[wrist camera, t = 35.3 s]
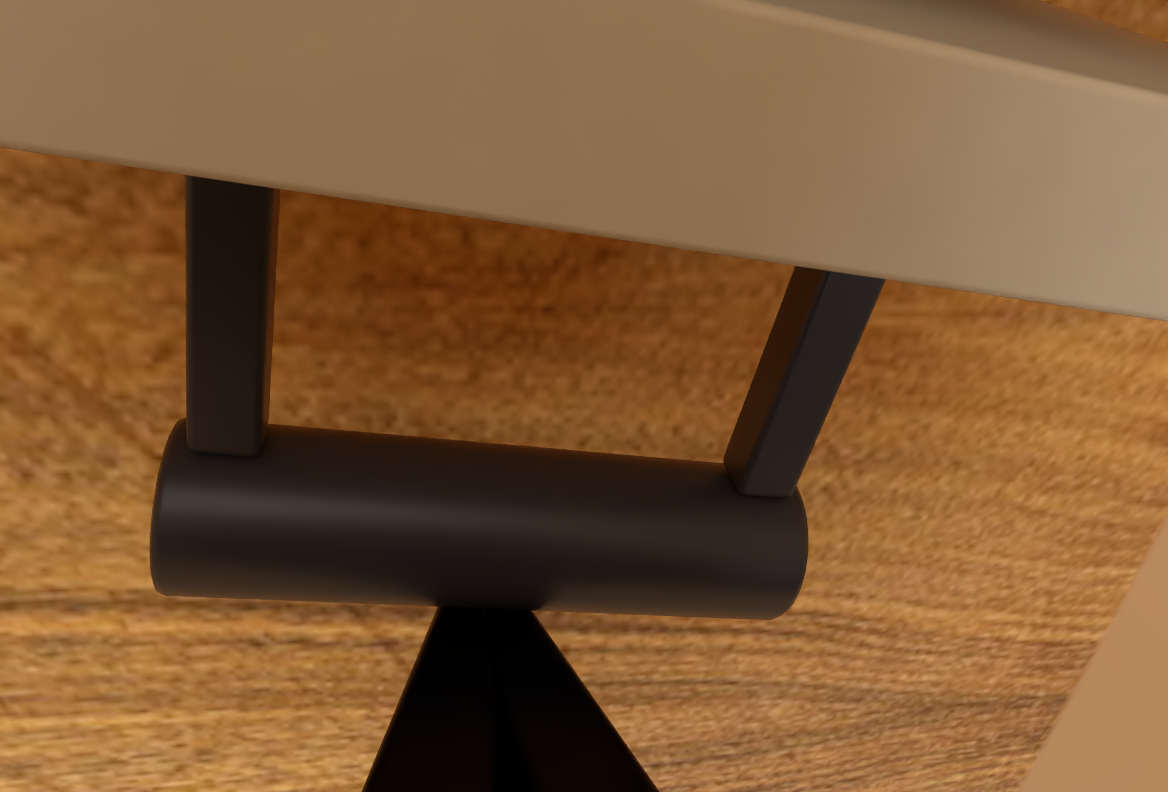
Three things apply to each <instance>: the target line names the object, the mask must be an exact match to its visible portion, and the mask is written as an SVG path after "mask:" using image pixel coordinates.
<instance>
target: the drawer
mask: <svg viewBox="0 0 1168 792" xmlns="http://www.w3.org/2000/svg"><path fill="white" fill-rule="evenodd" d="M0 147H2V148H8V149H15V150H22V151H28V152H35V153H42V154H49V155H55V156H62V157H69V158H75V159H82V160H89V161H96V162H102V163H109V164H116V165H122V166H129V167H136V168H143V169H149V170H156V171H163V172H169V173H176V174H183V175H185V259H186V418H183V419H180V420H178V421H177V422H176V424H175V426H174V427H173V429H172V431H171V433H170V435H169V437H168V440H167V442H166V445H165V448H164V452H163V455H162V459H161V463H160V468H159V472H158V477H157V483H156V488H155V495H154V502H153V510H152V519H151V531H150V569H151V575H152V580H153V584H154V587H155V589H156V591H157V592H159V593H161V594H163V595H166V596H186V597H211V598H236V599H261V600H285V601H310V602H335V603H360V604H385V605H409V606H434V607H459V608H484V609H508V610H533V611H558V612H583V613H607V614H632V615H657V616H682V617H707V618H731V619H756V620H771V619H774V618H777V617H779V616H781V615H783V614H784V613H786V612H787V611H788V610H789V609H790V607H791V606H792V605H793V603H794V601H795V600H796V598H797V596H798V594H799V591H800V589H801V586H802V582H803V579H804V575H805V571H806V564H807V556H808V526H807V518H806V512H805V508H804V504H803V500H802V498H801V495H800V492H799V490H798V488H797V486H796V485H797V483H798V480H799V478H800V476H801V473H802V471H803V469H804V467H805V464H806V462H807V460H808V457H809V455H810V453H811V450H812V448H813V446H814V444H815V441H816V439H817V437H818V434H819V432H820V430H821V427H822V425H823V423H824V421H825V418H826V416H827V414H828V411H829V409H830V407H831V405H832V402H833V400H834V398H835V395H836V393H837V391H838V388H839V386H840V384H841V382H842V379H843V377H844V375H845V372H846V370H847V368H848V365H849V363H850V361H851V359H852V356H853V354H854V352H855V349H856V347H857V345H858V342H859V340H860V338H861V336H862V333H863V331H864V329H865V326H866V324H867V322H868V319H869V317H870V315H871V313H872V310H873V308H874V306H875V303H876V301H877V299H878V296H879V294H880V292H881V290H882V287H883V285H884V283H885V280H886V279H887V280H894V281H900V282H907V283H914V284H920V285H927V286H934V287H941V288H947V289H954V290H961V291H967V292H974V293H981V294H987V295H994V296H1001V297H1008V298H1014V299H1021V300H1028V301H1034V302H1041V303H1048V304H1055V305H1061V306H1068V307H1075V308H1081V309H1088V310H1095V311H1101V312H1108V313H1115V314H1122V315H1128V316H1135V317H1142V318H1148V319H1155V320H1162V321H1168V43H1166V42H1163V41H1160V40H1157V39H1154V38H1151V37H1148V36H1145V35H1142V34H1139V33H1136V32H1133V31H1130V30H1127V29H1124V28H1121V27H1118V26H1115V25H1112V24H1109V23H1106V22H1104V21H1101V20H1098V19H1095V18H1092V17H1089V16H1086V15H1083V14H1080V13H1077V12H1074V11H1071V10H1068V9H1065V8H1062V7H1059V6H1056V5H1053V4H1050V3H1047V2H1044V1H1041V0H0ZM280 189H283V190H290V191H297V192H303V193H310V194H317V195H324V196H330V197H337V198H344V199H350V200H357V201H364V202H371V203H377V204H384V205H391V206H397V207H404V208H411V209H417V210H424V211H431V212H438V213H444V214H451V215H458V216H464V217H471V218H478V219H485V220H491V221H498V222H505V223H511V224H518V225H525V226H531V227H538V228H545V229H552V230H558V231H565V232H572V233H578V234H585V235H592V236H599V237H605V238H612V239H619V240H625V241H632V242H639V243H645V244H652V245H659V246H666V247H672V248H679V249H686V250H692V251H699V252H706V253H713V254H719V255H726V256H733V257H739V258H746V259H753V260H759V261H766V262H773V263H780V264H786V265H793V266H795V268H794V271H793V273H792V276H791V279H790V281H789V284H788V287H787V289H786V292H785V295H784V297H783V300H782V303H781V305H780V308H779V311H778V313H777V316H776V319H775V321H774V324H773V327H772V329H771V332H770V335H769V337H768V340H767V343H766V345H765V348H764V351H763V353H762V356H761V359H760V361H759V364H758V367H757V369H756V372H755V375H754V377H753V380H752V383H751V385H750V388H749V391H748V393H747V396H746V399H745V401H744V404H743V407H742V409H741V412H740V415H739V417H738V420H737V423H736V425H735V428H734V431H733V433H732V436H731V439H730V441H729V444H728V447H727V449H726V452H725V455H724V459H723V460H724V463H714V462H703V461H691V460H680V459H668V458H656V457H645V456H633V455H622V454H610V453H599V452H587V451H576V450H564V449H553V448H541V447H530V446H518V445H507V444H495V443H484V442H472V441H461V440H449V439H437V438H426V437H414V436H403V435H391V434H380V433H368V432H357V431H345V430H334V429H322V428H311V427H299V426H288V425H276V424H268V420H269V402H270V382H271V362H272V343H273V323H274V304H275V284H276V265H277V245H278V225H279V206H280Z"/></svg>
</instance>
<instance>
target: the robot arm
mask: <svg viewBox="0 0 1168 792" xmlns="http://www.w3.org/2000/svg"><path fill="white" fill-rule="evenodd" d="M362 792H659V790H658V789H657V788H656V786H655V785H654V783H653V782H652V781H651V779H650V778H649V776H648V775H647V773H646V772H645V771H644V769H643V768H642V766H641V765H640V763H639V762H638V761H637V759H636V758H635V756H634V755H633V753H632V752H631V751H630V749H629V748H628V746H627V745H626V744H625V742H624V741H623V739H622V738H621V736H620V735H619V734H618V732H617V731H616V729H615V728H614V726H613V725H612V724H611V722H610V721H609V719H608V718H607V716H606V715H605V714H604V712H603V711H602V709H601V708H600V707H599V705H598V704H597V702H596V701H595V699H594V698H593V697H592V695H591V694H590V692H589V691H588V689H587V688H586V687H585V685H584V684H583V682H582V681H581V680H580V678H579V677H578V675H577V674H576V672H575V671H574V670H573V668H572V667H571V665H570V664H569V662H568V661H567V660H566V658H565V657H564V655H563V654H562V652H561V651H560V650H559V648H558V647H557V645H556V644H555V643H554V641H553V640H552V638H551V637H550V635H549V634H548V633H547V631H546V630H545V628H544V627H543V625H542V624H541V623H540V621H539V620H538V618H537V617H536V615H535V614H534V613H533V611H532V610H508V609H484V608H459V607H438V608H437V610H436V613H435V615H434V618H433V620H432V622H431V625H430V627H429V630H428V632H427V635H426V637H425V639H424V642H423V644H422V647H421V649H420V652H419V654H418V656H417V659H416V661H415V664H414V666H413V668H412V671H411V673H410V676H409V678H408V681H407V683H406V685H405V688H404V690H403V693H402V695H401V698H400V700H399V702H398V705H397V707H396V710H395V712H394V714H393V717H392V719H391V722H390V724H389V727H388V729H387V731H386V734H385V736H384V739H383V741H382V744H381V746H380V748H379V751H378V753H377V756H376V758H375V760H374V763H373V765H372V768H371V770H370V773H369V775H368V777H367V780H366V782H365V785H364V787H363V789H362Z"/></svg>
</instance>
